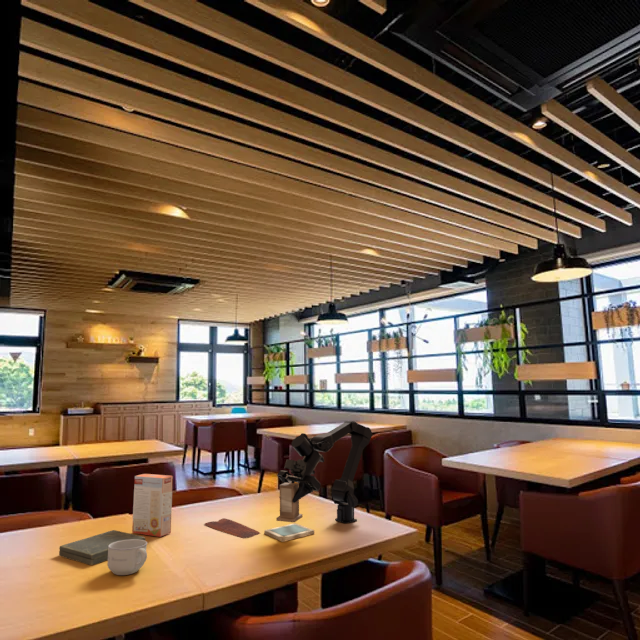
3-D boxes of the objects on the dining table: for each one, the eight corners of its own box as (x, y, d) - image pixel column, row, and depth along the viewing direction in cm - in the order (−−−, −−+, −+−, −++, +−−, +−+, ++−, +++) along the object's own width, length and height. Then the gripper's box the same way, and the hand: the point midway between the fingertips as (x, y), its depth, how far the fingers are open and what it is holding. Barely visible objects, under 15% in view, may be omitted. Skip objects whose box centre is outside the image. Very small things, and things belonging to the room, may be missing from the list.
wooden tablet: (202, 526, 184) (202, 522, 185) (224, 521, 191) (224, 516, 192) (242, 541, 166) (242, 536, 166) (264, 534, 173) (264, 530, 173)
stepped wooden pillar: (285, 515, 172) (284, 481, 174) (302, 517, 169) (301, 482, 171) (276, 520, 166) (276, 485, 167) (294, 522, 163) (293, 486, 165)
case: (91, 567, 143) (145, 548, 160) (92, 553, 143) (146, 535, 160) (58, 557, 152) (113, 540, 169) (59, 544, 152) (113, 528, 169)
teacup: (101, 571, 138) (102, 543, 139) (137, 562, 146) (138, 534, 147) (119, 585, 128) (121, 554, 129) (157, 574, 136) (158, 545, 137)
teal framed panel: (295, 526, 181) (295, 522, 181) (314, 533, 171) (314, 530, 172) (264, 533, 172) (264, 529, 172) (282, 541, 163) (282, 537, 163)
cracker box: (171, 533, 174) (173, 475, 177) (160, 538, 169) (162, 478, 172) (143, 528, 180) (145, 472, 183) (131, 533, 174) (133, 475, 177)
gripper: (280, 448, 180) (257, 483, 171) (314, 453, 167) (291, 490, 158) (296, 466, 184) (274, 501, 175) (330, 472, 171) (308, 510, 162)
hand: (286, 500), depth 167 cm, fingers closed on stepped wooden pillar, 7 cm apart
